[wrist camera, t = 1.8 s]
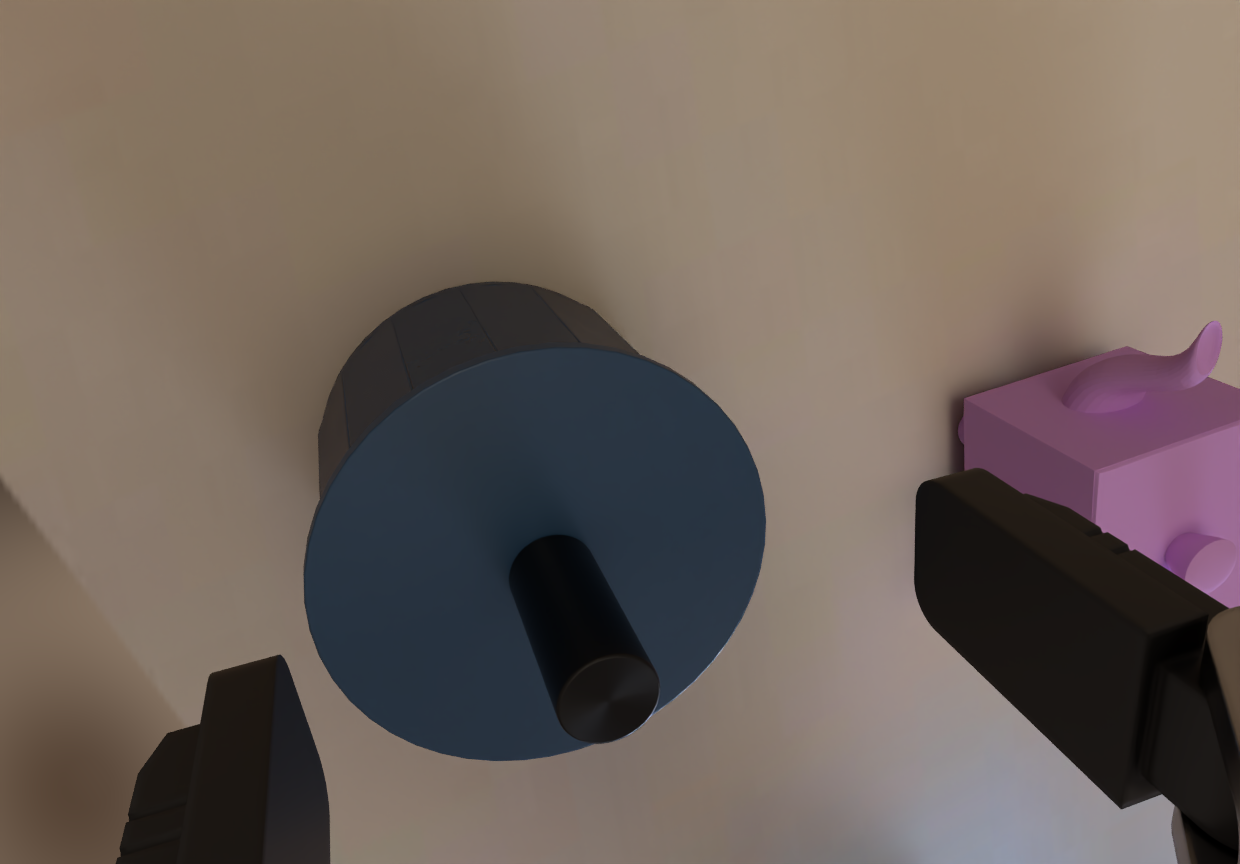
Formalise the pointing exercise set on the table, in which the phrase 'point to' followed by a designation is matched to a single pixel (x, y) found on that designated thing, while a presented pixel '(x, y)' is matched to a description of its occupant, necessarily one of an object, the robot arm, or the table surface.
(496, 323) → the pot
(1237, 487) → the teapot
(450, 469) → the lid
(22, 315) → the table surface
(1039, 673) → the robot arm
